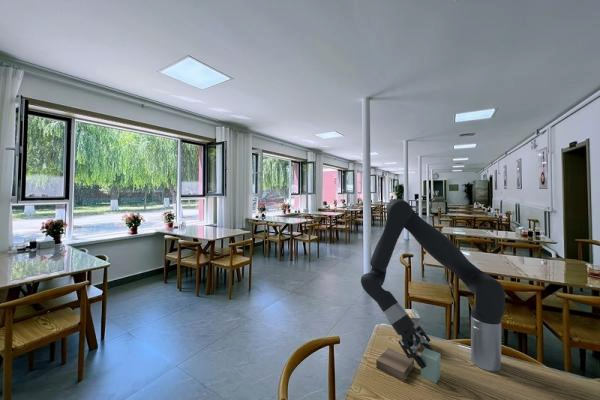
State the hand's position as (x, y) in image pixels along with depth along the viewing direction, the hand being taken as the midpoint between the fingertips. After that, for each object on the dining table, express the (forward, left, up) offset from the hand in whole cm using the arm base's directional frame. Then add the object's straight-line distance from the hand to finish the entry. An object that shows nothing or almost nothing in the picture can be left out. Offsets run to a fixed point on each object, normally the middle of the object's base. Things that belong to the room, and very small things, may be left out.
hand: (429, 362), depth 90 cm
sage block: (0, 0, -5) cm, 5 cm away
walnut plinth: (+4, -11, -5) cm, 12 cm away
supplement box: (-16, -12, -5) cm, 20 cm away
